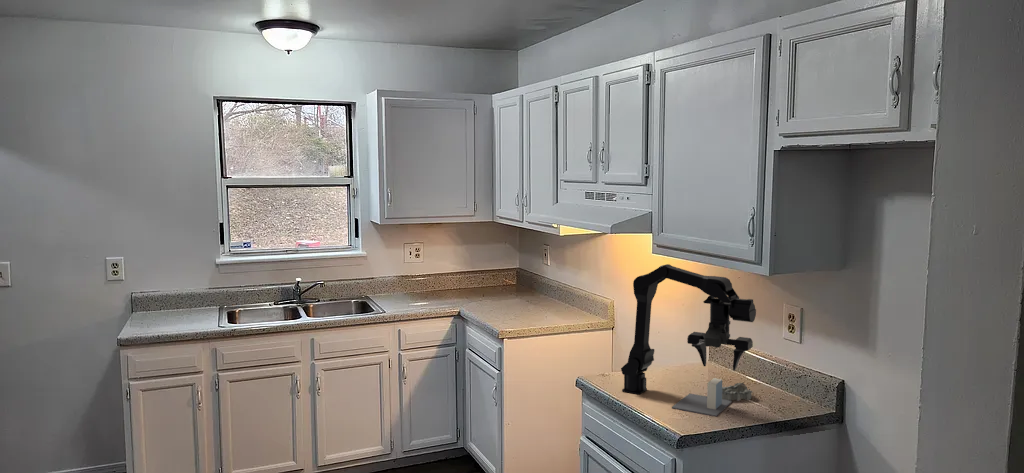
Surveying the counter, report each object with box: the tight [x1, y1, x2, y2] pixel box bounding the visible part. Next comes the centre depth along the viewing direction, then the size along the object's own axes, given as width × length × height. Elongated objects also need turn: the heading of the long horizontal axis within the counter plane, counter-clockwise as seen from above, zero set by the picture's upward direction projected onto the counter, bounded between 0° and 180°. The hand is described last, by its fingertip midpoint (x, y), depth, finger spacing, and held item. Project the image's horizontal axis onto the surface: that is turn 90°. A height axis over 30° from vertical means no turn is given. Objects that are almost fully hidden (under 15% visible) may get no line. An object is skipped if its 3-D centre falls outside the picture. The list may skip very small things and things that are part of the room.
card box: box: [706, 377, 723, 410], centre depth 221 cm, size 3×6×8 cm, turn 146°
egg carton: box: [722, 382, 754, 402], centre depth 231 cm, size 11×8×4 cm
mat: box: [671, 393, 733, 417], centre depth 224 cm, size 14×16×1 cm
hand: (719, 368), depth 220 cm, fingers open, 9 cm apart
